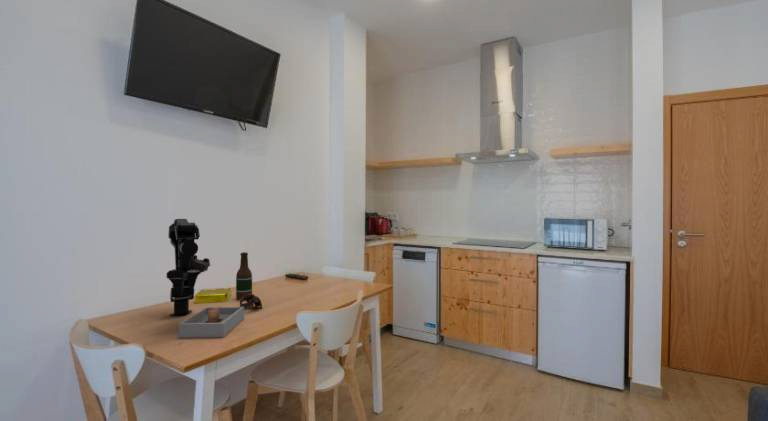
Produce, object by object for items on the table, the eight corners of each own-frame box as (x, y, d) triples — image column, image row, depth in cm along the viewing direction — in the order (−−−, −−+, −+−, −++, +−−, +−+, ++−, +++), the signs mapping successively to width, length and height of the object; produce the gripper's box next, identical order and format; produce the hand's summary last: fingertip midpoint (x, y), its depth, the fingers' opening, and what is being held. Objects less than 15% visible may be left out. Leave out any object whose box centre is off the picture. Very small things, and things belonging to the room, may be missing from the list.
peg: (210, 325, 142) (210, 308, 142) (221, 325, 142) (221, 308, 142) (206, 329, 138) (206, 311, 138) (217, 329, 138) (216, 311, 138)
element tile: (193, 304, 175) (193, 294, 175) (201, 297, 189) (201, 288, 189) (226, 302, 179) (226, 293, 179) (231, 295, 193) (231, 286, 193)
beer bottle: (255, 298, 185) (255, 252, 185) (242, 301, 179) (242, 253, 179) (245, 296, 189) (245, 251, 189) (232, 299, 183) (232, 252, 183)
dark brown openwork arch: (266, 311, 165) (258, 297, 161) (246, 322, 161) (238, 309, 157) (260, 298, 174) (253, 286, 171) (241, 309, 171) (233, 296, 167)
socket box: (205, 318, 151) (205, 307, 151) (244, 318, 152) (244, 306, 152) (178, 337, 129) (178, 324, 129) (223, 337, 130) (223, 323, 130)
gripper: (195, 256, 135) (195, 297, 136) (216, 250, 154) (216, 286, 154) (165, 256, 135) (165, 297, 135) (189, 250, 153) (190, 286, 154)
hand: (186, 291), depth 144 cm, fingers open, 9 cm apart
